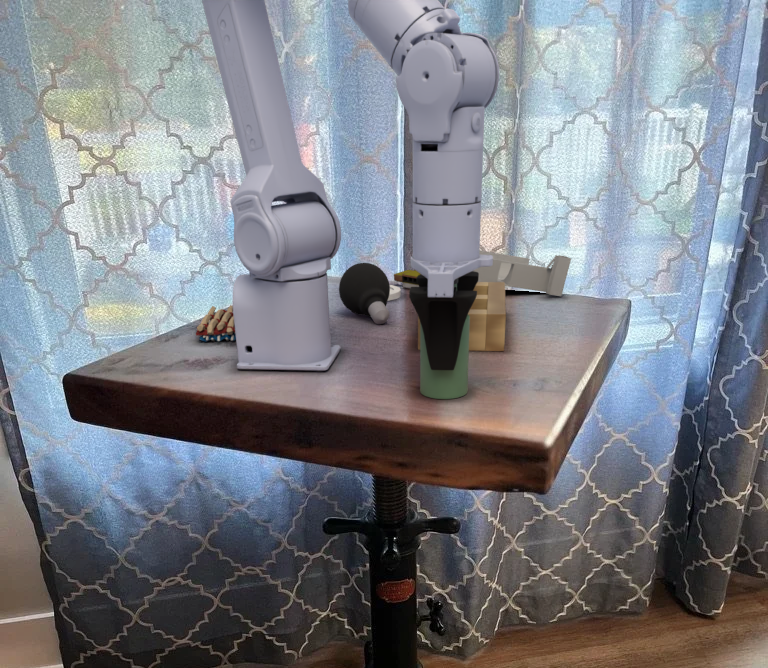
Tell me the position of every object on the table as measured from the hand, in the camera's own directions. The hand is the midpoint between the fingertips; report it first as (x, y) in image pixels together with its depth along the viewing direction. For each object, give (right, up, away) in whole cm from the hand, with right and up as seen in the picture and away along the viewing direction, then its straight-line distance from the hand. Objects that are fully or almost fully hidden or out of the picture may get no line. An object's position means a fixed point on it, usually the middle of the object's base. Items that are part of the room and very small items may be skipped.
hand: (444, 361), depth 71 cm
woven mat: (-22, +10, +22) cm, 32 cm away
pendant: (-8, +18, +39) cm, 44 cm away
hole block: (+4, +8, +21) cm, 22 cm away
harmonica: (+2, +20, +39) cm, 44 cm away
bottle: (0, -3, +1) cm, 3 cm away
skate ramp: (+10, +19, +39) cm, 44 cm away
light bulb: (-7, +11, +28) cm, 31 cm away
